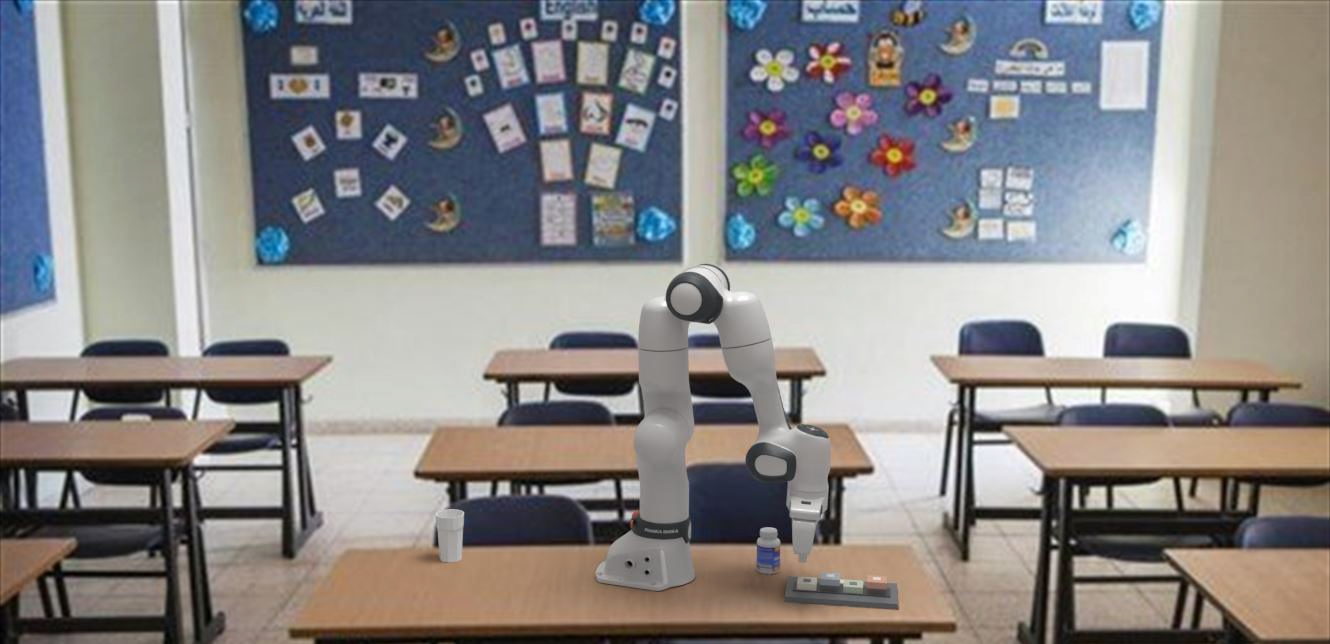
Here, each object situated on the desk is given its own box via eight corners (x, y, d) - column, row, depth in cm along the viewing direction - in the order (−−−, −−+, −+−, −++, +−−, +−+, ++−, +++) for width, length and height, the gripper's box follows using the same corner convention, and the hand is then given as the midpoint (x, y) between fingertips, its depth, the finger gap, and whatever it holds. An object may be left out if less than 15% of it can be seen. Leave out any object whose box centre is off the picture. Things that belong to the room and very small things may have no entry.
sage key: (843, 592, 270) (843, 586, 270) (843, 585, 274) (843, 579, 274) (862, 593, 269) (863, 587, 269) (862, 586, 273) (863, 580, 273)
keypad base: (784, 601, 268) (784, 594, 268) (788, 581, 280) (788, 574, 280) (897, 609, 264) (897, 602, 264) (896, 588, 276) (896, 582, 276)
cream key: (796, 589, 272) (797, 582, 271) (798, 582, 276) (798, 576, 275) (816, 590, 271) (816, 584, 271) (817, 583, 275) (817, 577, 275)
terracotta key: (866, 588, 269) (867, 581, 269) (866, 581, 273) (867, 574, 273) (886, 589, 268) (886, 582, 268) (886, 582, 272) (886, 575, 272)
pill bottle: (778, 575, 283) (779, 534, 282) (754, 573, 285) (755, 532, 283) (781, 567, 289) (782, 527, 287) (757, 565, 290) (758, 525, 288)
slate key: (820, 584, 270) (820, 578, 270) (820, 577, 275) (821, 571, 274) (839, 586, 270) (839, 579, 270) (840, 579, 274) (840, 572, 274)
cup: (462, 563, 289) (461, 518, 287) (434, 563, 289) (432, 518, 288) (467, 553, 296) (466, 509, 294) (439, 553, 296) (438, 509, 294)
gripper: (795, 484, 281) (791, 542, 283) (789, 512, 261) (784, 575, 263) (823, 487, 280) (819, 545, 282) (819, 515, 260) (814, 578, 262)
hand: (802, 560), depth 272 cm, fingers closed
